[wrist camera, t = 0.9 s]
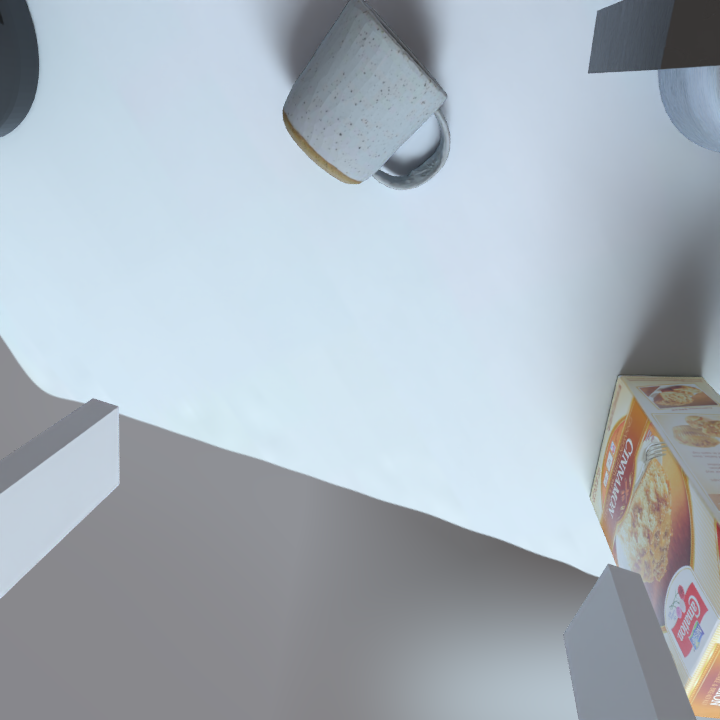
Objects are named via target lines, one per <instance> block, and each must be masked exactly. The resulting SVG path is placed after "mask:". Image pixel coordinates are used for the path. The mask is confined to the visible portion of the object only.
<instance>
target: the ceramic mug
mask: <svg viewBox="0 0 720 720" xmlns="http://www.w3.org/2000/svg"><path fill="white" fill-rule="evenodd" d="M446 99H447V94H446V92H445V91H444V90H443V89H442V87H441V86H440V85H439V84H438V83H437V81H436V80H435V79H434V78H433V77H432V75H431V74H430V73H429V72H428V71H427V69H426V68H425V67H424V66H423V65H422V64H421V63H420V62H419V61H418V59H417V58H416V57H415V56H414V54H413V53H412V52H411V51H410V50H409V49H408V48H407V46H406V45H405V44H404V43H403V42H402V41H401V40H400V39H399V37H398V36H397V35H396V34H395V33H394V32H393V31H392V30H391V28H390V27H389V26H388V25H387V24H386V23H385V22H384V21H383V20H382V19H381V17H380V16H379V15H378V14H377V13H376V12H375V11H374V10H373V9H372V8H371V7H370V6H369V5H368V4H367V3H366V2H365V1H364V0H349V2H348V3H347V5H346V6H345V8H344V10H343V11H342V13H341V14H340V16H339V18H338V19H337V21H336V22H335V23H334V25H333V26H332V28H331V29H330V31H329V32H328V34H327V35H326V37H325V38H324V40H323V41H322V43H321V44H320V46H319V47H318V49H317V51H316V52H315V54H314V55H313V57H312V59H311V60H310V62H309V63H308V65H307V66H306V68H305V69H304V70H303V72H302V73H301V75H300V76H299V78H298V79H297V80H296V82H295V84H294V85H293V87H292V89H291V91H290V93H289V95H288V97H287V100H286V102H285V104H284V107H283V121H284V123H285V126H286V129H287V131H288V132H289V134H290V135H291V137H292V138H293V140H294V141H295V142H296V143H297V145H298V146H299V147H300V148H301V149H302V150H303V151H304V152H305V153H306V154H307V155H308V157H309V158H310V159H312V160H313V161H314V162H315V163H316V164H317V165H319V166H320V167H321V168H322V169H323V170H325V171H326V172H327V173H329V174H330V175H332V176H333V177H335V178H337V179H338V180H340V181H342V182H344V183H348V184H360V183H361V182H363V181H365V180H367V179H368V178H369V177H370V176H373V177H374V178H375V179H376V180H377V181H379V182H380V183H381V184H384V185H385V186H387V187H390V188H393V189H396V190H407V189H412V188H416V187H418V186H420V185H422V184H424V183H426V182H427V181H429V180H430V179H431V178H432V177H434V176H435V175H436V174H437V173H438V172H439V171H440V169H441V168H442V167H443V166H444V164H445V162H446V160H447V158H448V155H449V151H450V132H449V128H448V125H447V121H446V119H445V117H444V116H443V114H442V112H441V110H440V109H439V107H440V106H441V105H442V104H443V103H444V102H445V100H446ZM433 113H434V114H435V116H436V118H437V121H438V123H439V127H440V132H441V140H440V144H439V147H438V148H437V149H436V152H435V153H434V154H433V155H432V156H431V157H430V158H429V159H427V160H426V161H425V162H424V163H423V164H422V165H421V166H419V167H418V168H417V169H414V170H412V171H411V172H410V174H409V175H407V176H391V175H389V174H387V173H384V172H383V171H381V170H379V169H380V168H381V167H382V166H383V165H384V164H385V163H386V162H387V160H388V159H389V158H390V157H391V156H392V155H393V154H394V153H395V152H396V150H397V149H398V148H399V147H400V146H401V145H402V144H403V143H404V142H405V141H406V140H407V139H408V138H409V137H410V136H411V135H412V134H413V133H414V132H415V131H416V130H417V129H418V128H419V127H420V126H421V125H422V124H423V123H424V122H425V121H426V120H427V119H428V118H429V117H430V116H431V115H432V114H433Z"/></svg>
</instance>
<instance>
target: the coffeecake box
mask: <svg viewBox="0 0 720 720" xmlns="http://www.w3.org/2000/svg"><path fill="white" fill-rule="evenodd" d="M590 500H591V502H592V505H593V507H594V510H595V512H596V515H597V517H598V520H599V522H600V525H601V527H602V530H603V532H604V535H605V537H606V540H607V542H608V545H609V547H610V550H611V552H612V555H613V557H614V560H615V562H616V565H617V567H620V568H623V569H626V570H629V571H632V572H635V573H638V574H640V575H641V578H642V580H643V583H644V585H645V588H646V590H647V593H648V596H649V598H650V601H651V603H652V606H653V609H654V611H655V614H656V616H657V619H658V622H659V624H660V627H661V629H662V632H663V634H664V637H665V640H666V642H667V645H668V647H669V650H670V653H671V655H672V658H673V660H674V663H675V665H676V668H677V671H678V673H679V676H680V678H681V681H682V684H683V686H684V689H685V691H686V694H687V697H688V699H689V702H690V704H691V707H692V709H693V712H694V715H695V716H701V717H710V718H720V396H719V395H718V394H717V393H716V392H715V390H714V389H713V388H712V387H711V386H710V385H709V384H708V383H707V382H706V381H705V380H704V378H703V377H661V376H642V375H635V376H631V375H619V376H618V379H617V383H616V387H615V391H614V396H613V399H612V404H611V408H610V413H609V417H608V421H607V425H606V430H605V434H604V439H603V443H602V447H601V452H600V456H599V461H598V465H597V469H596V474H595V478H594V483H593V487H592V492H591V496H590Z"/></svg>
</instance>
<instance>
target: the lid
mask: <svg viewBox="0 0 720 720" xmlns="http://www.w3.org/2000/svg"><path fill="white" fill-rule="evenodd" d="M705 66H720V0H623V1H621V2H618V3H616V4H613V5H611V6H608V7H606V8H603V9H601V10H598V11H597V17H596V24H595V30H594V37H593V43H592V50H591V57H590V63H589V70H588V73H604V72H623V71H641V70H660V69H675V68H690V67H705Z"/></svg>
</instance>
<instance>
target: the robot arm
mask: <svg viewBox="0 0 720 720" xmlns="http://www.w3.org/2000/svg"><path fill="white" fill-rule="evenodd" d="M38 76H39V57H38V47H37V40H36V35H35V31H34V27H33V23H32V19H31V16H30V13H29V10H28V8H27V5H26V2H25V0H0V137H2V136H4V135H6V134H8V133H10V132H11V131H12V130H14V129H15V128H16V127H17V126H18V125H19V124H20V123H21V122H22V121H23V119H24V118H25V117H26V115H27V113H28V112H29V110H30V108H31V106H32V103H33V100H34V97H35V94H36V90H37V85H38ZM118 485H119V407H118V406H115V405H112V404H109V403H106V402H103V401H100V400H97V399H91V400H90V401H88V402H87V403H85V404H84V405H82V406H81V407H79V408H78V409H76V410H75V411H73V412H72V413H71V414H69V415H67V416H66V417H64V418H63V419H61V420H60V421H58V422H57V423H55V424H54V425H53V426H51V427H49V428H48V429H46V430H45V431H44V432H42V433H40V434H39V435H37V436H36V437H35V438H33V439H31V440H30V441H29V442H27V443H26V444H24V445H23V446H21V447H20V448H18V449H17V450H15V451H14V452H12V453H11V454H9V455H8V456H6V457H5V458H3V459H2V460H0V598H1V597H2V596H4V595H5V594H6V593H7V592H8V591H9V590H10V589H11V588H12V587H13V586H14V585H15V584H16V583H17V582H18V581H19V580H20V579H21V578H22V577H23V576H24V575H25V574H26V573H28V571H30V570H31V568H33V567H34V566H35V565H36V564H37V563H38V562H39V561H40V560H41V559H42V558H43V557H44V556H45V555H46V554H47V553H48V552H49V551H50V550H51V549H52V548H54V547H55V545H57V544H58V543H59V542H60V541H61V540H62V539H63V538H64V537H65V536H66V535H67V534H68V533H69V532H70V531H71V530H72V529H73V528H74V527H75V526H76V525H78V524H79V523H80V522H81V521H82V520H83V519H84V518H85V517H86V516H87V515H88V514H89V513H90V512H91V511H92V510H93V509H94V508H95V507H96V506H97V505H98V504H99V503H100V502H101V501H102V500H103V499H105V498H106V497H107V496H108V495H109V494H110V493H111V492H112V491H113V490H114V489H115V488H116V487H117V486H118ZM563 636H564V641H565V647H566V653H567V658H568V664H569V669H570V675H571V680H572V686H573V691H574V696H575V702H576V708H577V713H578V719H579V720H696V717H695V715H694V712H693V709H692V707H691V704H690V702H689V699H688V697H687V694H686V691H685V689H684V686H683V684H682V681H681V678H680V676H679V673H678V671H677V668H676V665H675V663H674V660H673V658H672V655H671V653H670V650H669V647H668V645H667V642H666V640H665V637H664V634H663V632H662V629H661V627H660V624H659V622H658V619H657V616H656V614H655V611H654V609H653V606H652V603H651V601H650V598H649V596H648V593H647V590H646V588H645V585H644V583H643V580H642V578H641V575H640V574H638V573H635V572H632V571H629V570H626V569H623V568H620V567H617V566H614V565H610V564H608V565H607V566H606V568H605V570H604V571H603V573H602V574H601V576H600V577H599V579H598V581H597V582H596V584H595V586H594V587H593V588H592V590H591V592H590V593H589V595H588V596H587V598H586V599H585V601H584V603H583V604H582V606H581V607H580V609H579V611H578V612H577V614H576V615H575V617H574V618H573V620H572V621H571V623H570V625H569V626H568V628H567V629H566V631H565V633H564V634H563Z"/></svg>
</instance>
